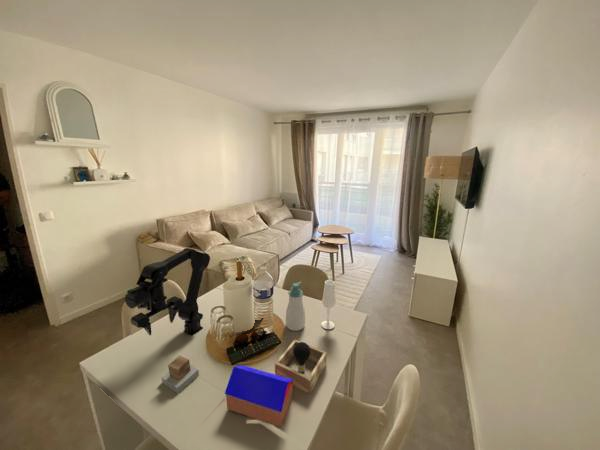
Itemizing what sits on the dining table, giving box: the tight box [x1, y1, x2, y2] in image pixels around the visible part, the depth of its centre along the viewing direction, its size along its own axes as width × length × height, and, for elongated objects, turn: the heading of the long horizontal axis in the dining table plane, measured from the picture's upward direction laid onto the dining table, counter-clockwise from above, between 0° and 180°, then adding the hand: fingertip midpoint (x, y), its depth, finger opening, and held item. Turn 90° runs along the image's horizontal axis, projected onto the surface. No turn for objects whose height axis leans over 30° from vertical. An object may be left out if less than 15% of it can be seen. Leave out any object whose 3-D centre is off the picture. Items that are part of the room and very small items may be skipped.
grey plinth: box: [161, 364, 200, 395], centre depth 91 cm, size 9×9×3 cm
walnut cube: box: [167, 355, 191, 381], centre depth 90 cm, size 5×5×5 cm
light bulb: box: [293, 341, 310, 373], centre depth 94 cm, size 7×7×12 cm
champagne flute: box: [321, 279, 336, 330], centre depth 120 cm, size 7×7×24 cm
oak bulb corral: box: [274, 339, 328, 395], centre depth 95 cm, size 15×15×6 cm
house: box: [224, 365, 294, 428], centre depth 82 cm, size 12×20×12 cm, turn 73°
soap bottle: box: [285, 281, 306, 332], centre depth 120 cm, size 10×10×23 cm
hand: (161, 328), depth 101 cm, fingers open, 9 cm apart
